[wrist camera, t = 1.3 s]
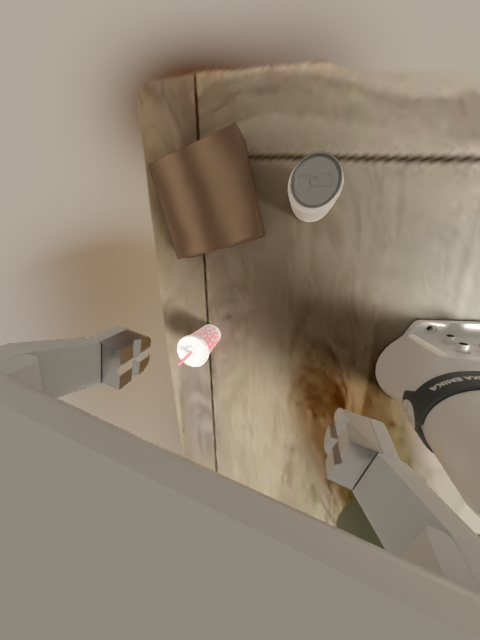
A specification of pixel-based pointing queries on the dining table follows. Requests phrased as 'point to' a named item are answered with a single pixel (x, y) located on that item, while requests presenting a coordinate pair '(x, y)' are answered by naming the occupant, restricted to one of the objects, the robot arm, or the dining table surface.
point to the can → (315, 186)
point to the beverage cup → (198, 345)
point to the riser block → (209, 194)
